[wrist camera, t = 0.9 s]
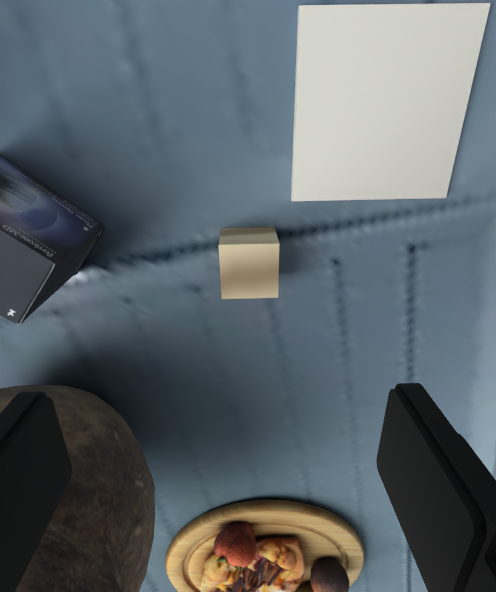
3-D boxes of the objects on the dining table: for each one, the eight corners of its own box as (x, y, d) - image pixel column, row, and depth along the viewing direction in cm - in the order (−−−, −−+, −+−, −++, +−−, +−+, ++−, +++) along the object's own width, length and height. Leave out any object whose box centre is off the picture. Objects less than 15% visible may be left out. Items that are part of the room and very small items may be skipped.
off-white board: (298, 7, 26) (299, 5, 26) (485, 5, 27) (490, 2, 26) (290, 199, 33) (291, 201, 32) (442, 196, 33) (445, 198, 32)
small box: (109, 223, 33) (59, 264, 24) (77, 274, 35) (20, 330, 26) (-4, 147, 30) (-112, 161, 21) (-31, 208, 32) (-141, 246, 23)
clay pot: (155, 311, 37) (32, 598, 15) (193, 474, 49) (156, 774, 27) (-91, 333, 38) (-564, 645, 15) (5, 490, 49) (-188, 798, 27)
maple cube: (221, 227, 34) (218, 244, 29) (274, 226, 34) (279, 243, 29) (223, 276, 36) (221, 299, 32) (273, 275, 36) (278, 297, 32)
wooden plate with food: (146, 503, 52) (131, 568, 45) (366, 485, 51) (387, 548, 44) (186, 607, 67) (180, 668, 60) (357, 594, 66) (372, 655, 59)
